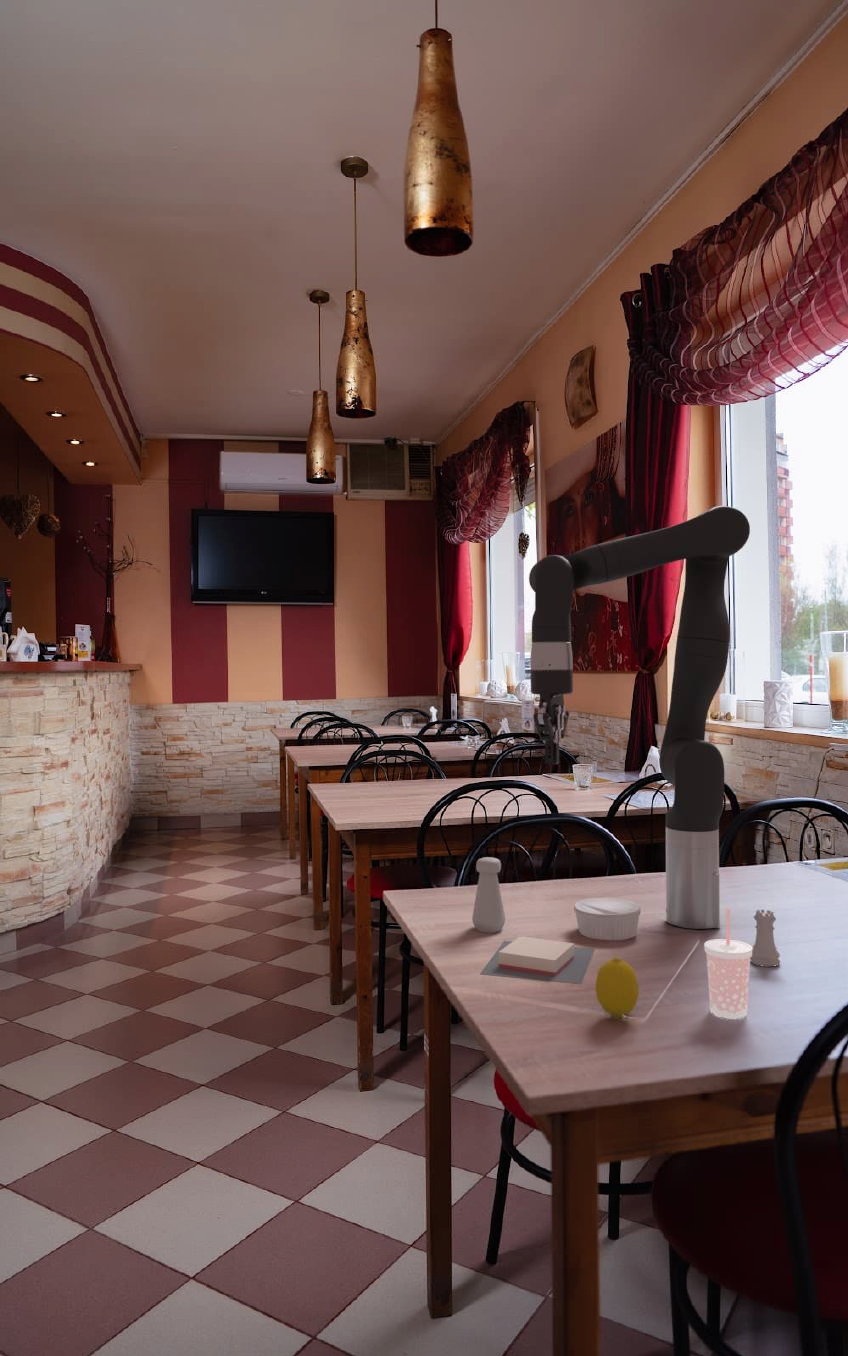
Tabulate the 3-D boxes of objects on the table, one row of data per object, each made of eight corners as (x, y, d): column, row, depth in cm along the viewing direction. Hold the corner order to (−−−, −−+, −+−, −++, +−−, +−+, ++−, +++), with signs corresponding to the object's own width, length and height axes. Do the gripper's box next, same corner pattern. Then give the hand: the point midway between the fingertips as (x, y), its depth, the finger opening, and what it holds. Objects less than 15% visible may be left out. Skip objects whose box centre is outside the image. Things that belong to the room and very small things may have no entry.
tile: (520, 936, 143) (498, 951, 135) (574, 943, 139) (555, 960, 131) (520, 950, 143) (498, 967, 135) (574, 958, 139) (555, 976, 131)
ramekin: (568, 941, 151) (568, 910, 151) (581, 924, 161) (581, 894, 161) (635, 948, 146) (635, 916, 146) (644, 930, 157) (644, 900, 157)
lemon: (590, 1011, 119) (590, 951, 119) (631, 1009, 120) (630, 950, 120) (602, 1027, 114) (602, 965, 114) (644, 1025, 114) (644, 963, 114)
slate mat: (594, 952, 144) (594, 948, 144) (581, 987, 128) (581, 983, 128) (504, 944, 149) (504, 940, 149) (479, 977, 133) (479, 973, 133)
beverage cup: (706, 1001, 122) (705, 900, 122) (753, 1008, 120) (753, 904, 120) (702, 1018, 117) (701, 911, 117) (751, 1024, 114) (751, 916, 114)
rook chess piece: (766, 969, 136) (766, 916, 136) (743, 961, 140) (743, 910, 140) (786, 964, 138) (786, 913, 138) (763, 956, 142) (763, 906, 142)
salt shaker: (503, 938, 152) (502, 862, 152) (470, 936, 154) (469, 861, 153) (507, 928, 158) (506, 855, 158) (475, 926, 159) (474, 854, 159)
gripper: (559, 667, 153) (560, 768, 153) (582, 667, 164) (583, 761, 164) (518, 668, 156) (519, 766, 156) (544, 668, 168) (544, 759, 168)
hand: (552, 763), depth 160 cm, fingers closed
